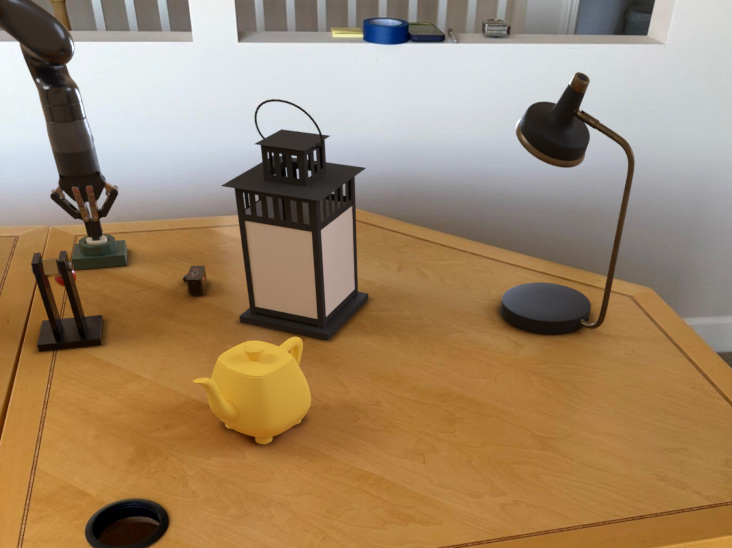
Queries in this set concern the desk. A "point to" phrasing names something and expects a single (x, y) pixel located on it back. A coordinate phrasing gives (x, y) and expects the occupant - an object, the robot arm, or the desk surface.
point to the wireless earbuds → (196, 280)
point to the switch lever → (54, 270)
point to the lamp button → (96, 242)
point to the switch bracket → (68, 329)
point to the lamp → (562, 149)
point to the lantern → (298, 236)
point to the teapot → (259, 388)
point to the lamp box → (99, 254)
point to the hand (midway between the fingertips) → (96, 238)
